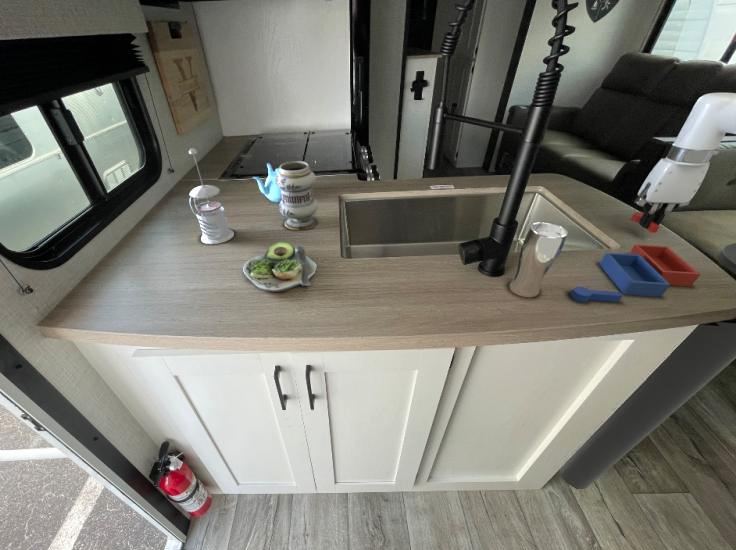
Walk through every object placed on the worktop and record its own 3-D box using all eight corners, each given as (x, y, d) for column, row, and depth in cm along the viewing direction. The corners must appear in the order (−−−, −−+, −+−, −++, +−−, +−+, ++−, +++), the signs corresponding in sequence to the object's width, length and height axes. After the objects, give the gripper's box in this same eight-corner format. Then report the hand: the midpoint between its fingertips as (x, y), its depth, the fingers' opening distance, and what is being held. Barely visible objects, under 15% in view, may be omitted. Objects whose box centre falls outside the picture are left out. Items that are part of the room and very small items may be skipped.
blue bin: (599, 264, 81) (606, 252, 79) (631, 266, 80) (639, 254, 78) (623, 294, 72) (632, 282, 69) (660, 297, 70) (670, 284, 68)
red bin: (627, 256, 83) (634, 244, 81) (659, 257, 82) (667, 246, 80) (654, 284, 74) (663, 271, 72) (690, 286, 73) (701, 274, 71)
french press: (218, 246, 94) (191, 155, 78) (189, 238, 98) (158, 151, 82) (240, 232, 100) (219, 145, 84) (212, 225, 104) (187, 141, 89)
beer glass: (511, 297, 72) (536, 237, 62) (503, 279, 77) (525, 221, 68) (545, 299, 71) (575, 238, 61) (534, 281, 76) (560, 222, 67)
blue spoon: (613, 295, 71) (617, 289, 70) (620, 305, 69) (625, 298, 68) (567, 292, 73) (571, 285, 72) (573, 301, 70) (577, 295, 69)
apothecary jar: (286, 235, 98) (277, 174, 86) (278, 218, 107) (269, 162, 95) (324, 227, 101) (320, 168, 89) (313, 212, 110) (308, 156, 98)
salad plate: (336, 279, 79) (335, 263, 76) (270, 307, 72) (267, 291, 69) (296, 247, 92) (295, 232, 89) (237, 269, 84) (233, 253, 81)
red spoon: (660, 232, 86) (664, 226, 85) (645, 232, 86) (649, 226, 85) (641, 218, 93) (644, 212, 92) (628, 217, 93) (631, 211, 92)
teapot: (307, 190, 126) (304, 163, 119) (296, 206, 114) (293, 176, 108) (271, 189, 128) (266, 162, 121) (257, 204, 116) (251, 175, 110)
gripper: (716, 150, 78) (671, 221, 90) (642, 151, 81) (608, 219, 92) (740, 159, 73) (689, 233, 84) (660, 159, 75) (621, 231, 87)
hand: (647, 225), depth 88 cm, fingers closed on red spoon, 1 cm apart
